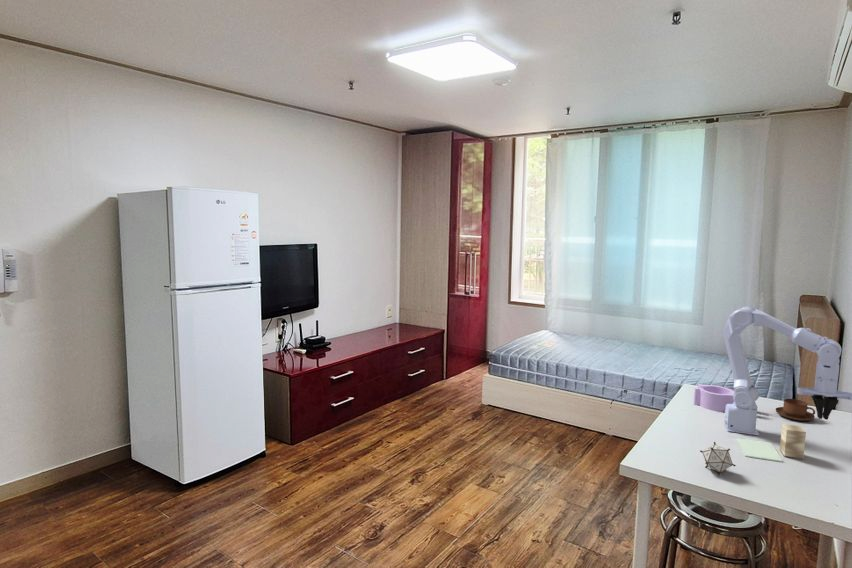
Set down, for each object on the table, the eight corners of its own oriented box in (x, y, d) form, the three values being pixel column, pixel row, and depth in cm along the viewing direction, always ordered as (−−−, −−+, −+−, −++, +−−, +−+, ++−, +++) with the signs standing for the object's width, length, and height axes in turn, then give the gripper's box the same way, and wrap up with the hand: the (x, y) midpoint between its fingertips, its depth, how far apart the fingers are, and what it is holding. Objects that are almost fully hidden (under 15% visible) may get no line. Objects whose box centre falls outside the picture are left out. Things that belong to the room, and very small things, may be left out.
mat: (745, 456, 157) (745, 455, 157) (736, 439, 170) (736, 438, 170) (782, 462, 154) (782, 460, 154) (770, 443, 167) (770, 442, 167)
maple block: (784, 457, 157) (786, 429, 156) (779, 450, 162) (782, 423, 161) (803, 459, 156) (806, 432, 154) (798, 453, 160) (800, 426, 159)
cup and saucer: (811, 415, 193) (812, 400, 192) (816, 426, 183) (818, 409, 182) (773, 409, 199) (775, 394, 198) (776, 419, 189) (778, 403, 188)
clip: (754, 409, 199) (755, 392, 198) (749, 418, 189) (751, 401, 188) (698, 398, 211) (699, 382, 211) (691, 406, 202) (692, 389, 201)
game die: (710, 479, 151) (704, 445, 155) (741, 478, 145) (734, 443, 150) (699, 473, 145) (694, 439, 150) (731, 472, 140) (724, 436, 145)
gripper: (803, 378, 160) (799, 419, 161) (860, 384, 154) (855, 426, 156) (796, 372, 166) (792, 411, 168) (850, 377, 161) (846, 418, 162)
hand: (822, 418), depth 162 cm, fingers closed
